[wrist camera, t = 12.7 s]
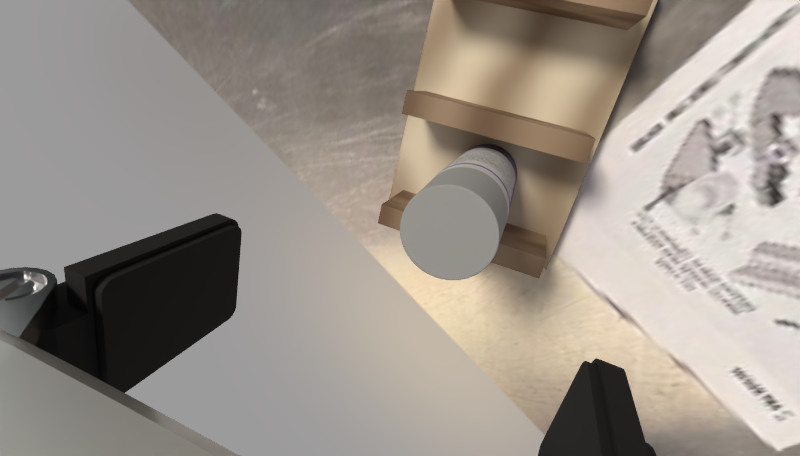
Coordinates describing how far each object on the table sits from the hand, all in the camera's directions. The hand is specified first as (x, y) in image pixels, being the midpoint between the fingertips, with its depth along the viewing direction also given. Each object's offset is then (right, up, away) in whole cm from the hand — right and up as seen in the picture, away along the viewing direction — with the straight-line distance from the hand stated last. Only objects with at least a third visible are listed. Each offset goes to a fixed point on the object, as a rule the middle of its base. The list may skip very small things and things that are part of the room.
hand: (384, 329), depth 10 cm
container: (+7, +7, +21) cm, 23 cm away
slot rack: (+8, +11, +21) cm, 25 cm away
